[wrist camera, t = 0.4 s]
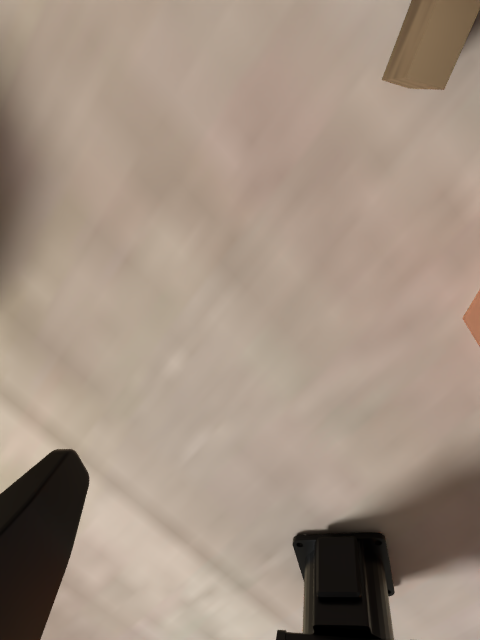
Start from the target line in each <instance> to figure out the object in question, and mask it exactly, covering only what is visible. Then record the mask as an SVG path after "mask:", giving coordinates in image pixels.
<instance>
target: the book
mask: <svg viewBox="0 0 480 640" xmlns="http://www.w3.org/2000/svg"><path fill="white" fill-rule="evenodd" d="M463 320H464V322H465V323H466V325H467V327H468V328H469V330H470V331H471V333H472V335H473V336H474V338H475V340H476V341H477V343H478V345H479V346H480V290H479V292H478V293H477V295H476V297H475V298H474V300H473V302H472V303H471V305H470V307H469V308H468V310H467V312H466V313H465V315H464V317H463Z"/></svg>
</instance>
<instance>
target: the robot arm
mask: <svg viewBox="0 0 480 640" xmlns="http://www.w3.org/2000/svg"><path fill="white" fill-rule="evenodd" d="M88 487H89V474H88V472H87V470H86V468H85V466H84V465H83V463H82V461H81V459H80V458H79V456H78V454H77V453H76V451H74V450H73V449H57V450H54V451H52V452H51V453H49V454H48V455H47V456H46V457H45V458H43V459H42V460H41V461H40V462H38V463H37V464H36V465H35V466H34V467H32V468H31V469H30V470H29V471H28V472H26V473H25V474H24V475H23V476H22V477H20V478H19V479H18V480H17V481H16V482H14V483H13V484H12V485H11V486H10V487H8V488H7V489H6V490H5V491H4V492H2V493H1V494H0V640H40V639H41V636H42V634H43V631H44V628H45V625H46V622H47V620H48V617H49V614H50V611H51V609H52V606H53V603H54V600H55V598H56V595H57V592H58V589H59V587H60V584H61V581H62V578H63V576H64V573H65V570H66V567H67V564H68V561H69V558H70V555H71V551H72V548H73V545H74V541H75V537H76V533H77V529H78V525H79V521H80V518H81V514H82V510H83V506H84V502H85V498H86V494H87V490H88ZM293 547H294V550H295V554H296V557H297V560H298V563H299V567H300V570H301V573H302V576H303V580H304V610H303V633H291V632H286V630H278V631H277V637H276V640H394V636H393V629H392V621H391V614H390V606H389V599H388V596H392V595H393V594H394V586H393V580H392V574H391V569H390V563H389V557H388V552H387V546H386V540H385V536H384V535H383V534H380V533H359V534H328V535H298V536H295V537H294V538H293Z"/></svg>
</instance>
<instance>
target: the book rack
mask: <svg viewBox="0 0 480 640" xmlns="http://www.w3.org/2000/svg"><path fill="white" fill-rule="evenodd" d="M479 10H480V0H412V1H411V4H410V7H409V9H408V12H407V15H406V17H405V20H404V23H403V25H402V28H401V30H400V33H399V36H398V38H397V41H396V44H395V46H394V49H393V52H392V54H391V57H390V60H389V62H388V65H387V68H386V70H385V73H384V76H383V78H382V80H384V81H387V82H390V83H394V84H397V85H400V86H403V87H407V88H413V89H441V90H444V89H445V86H446V84H447V82H448V80H449V77H450V75H451V73H452V71H453V68H454V66H455V64H456V62H457V59H458V57H459V55H460V53H461V50H462V48H463V46H464V44H465V41H466V39H467V37H468V35H469V32H470V30H471V28H472V26H473V23H474V21H475V19H476V17H477V14H478V12H479Z"/></svg>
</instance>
